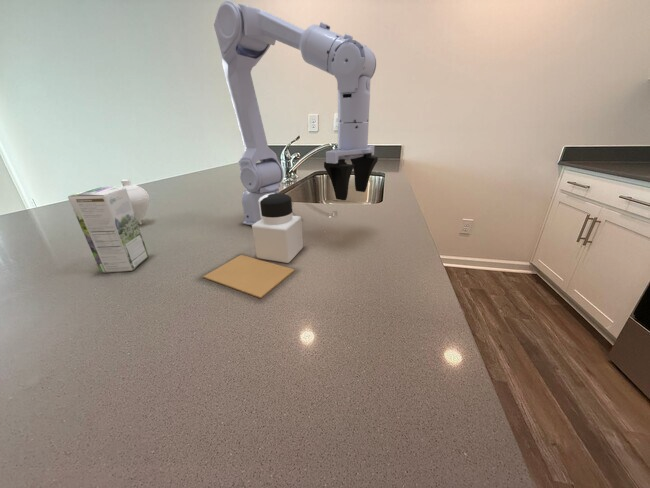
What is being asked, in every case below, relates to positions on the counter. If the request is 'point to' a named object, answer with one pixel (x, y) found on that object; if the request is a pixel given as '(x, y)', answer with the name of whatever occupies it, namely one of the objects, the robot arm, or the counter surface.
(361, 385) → the counter surface
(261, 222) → the medicine bottle
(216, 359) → the counter surface
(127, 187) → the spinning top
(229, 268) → the cork mat
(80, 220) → the syrup box
